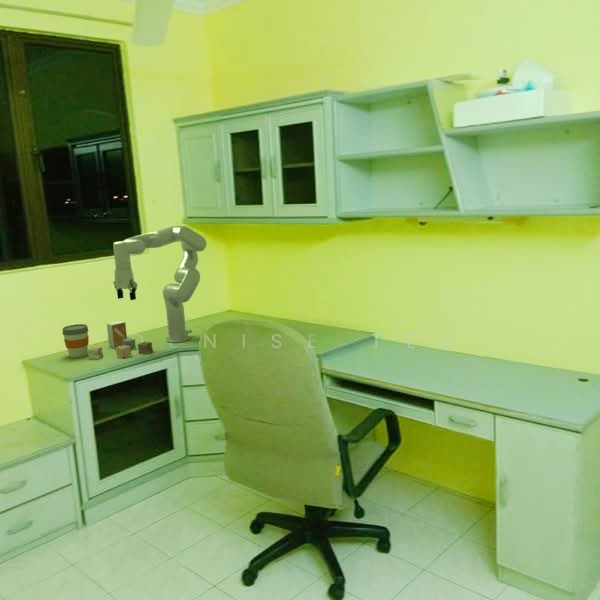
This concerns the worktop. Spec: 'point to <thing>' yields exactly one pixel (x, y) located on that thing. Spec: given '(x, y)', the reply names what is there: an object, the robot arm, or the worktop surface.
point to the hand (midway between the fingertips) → (126, 299)
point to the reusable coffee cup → (76, 339)
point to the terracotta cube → (123, 351)
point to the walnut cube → (145, 347)
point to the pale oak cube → (95, 352)
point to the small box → (116, 333)
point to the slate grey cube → (129, 343)
